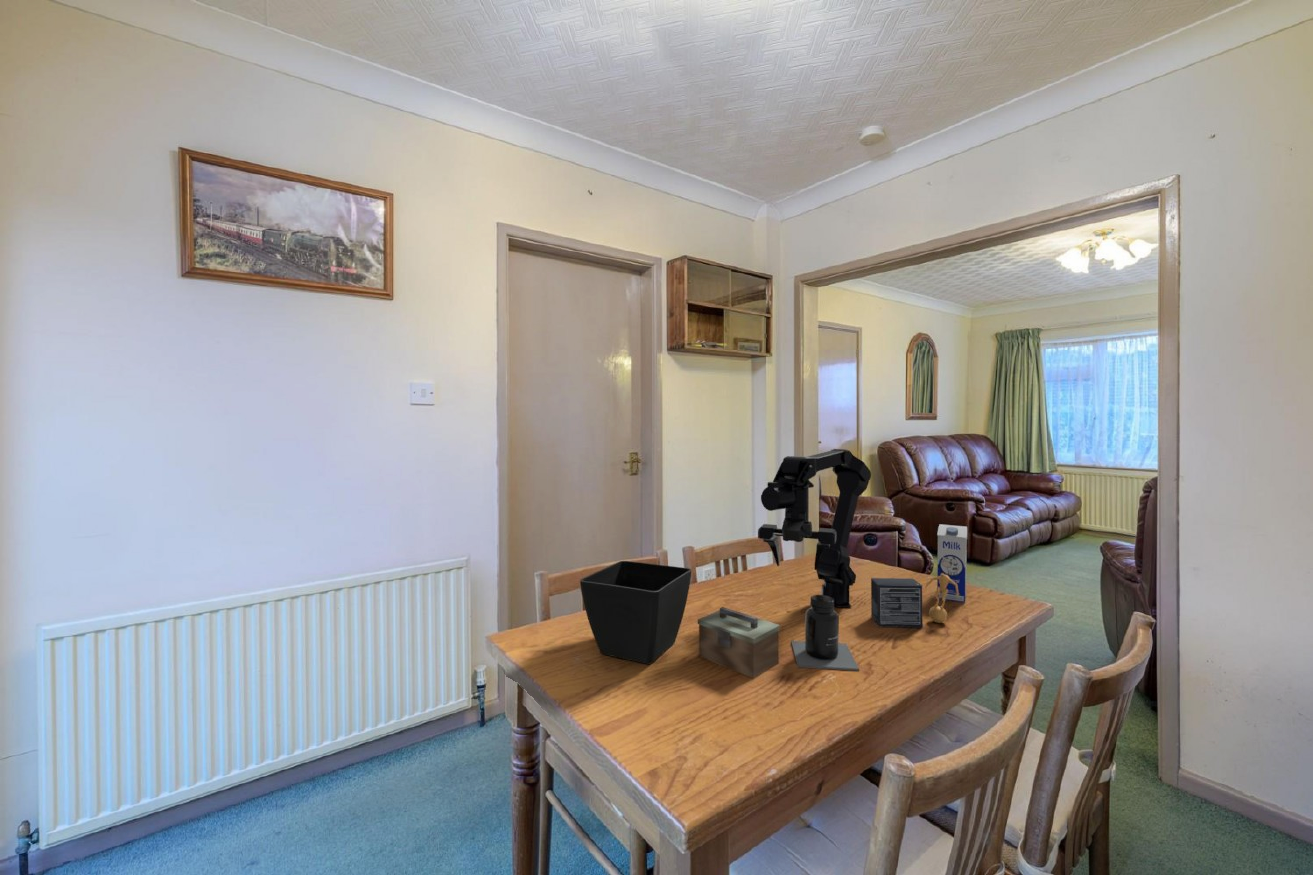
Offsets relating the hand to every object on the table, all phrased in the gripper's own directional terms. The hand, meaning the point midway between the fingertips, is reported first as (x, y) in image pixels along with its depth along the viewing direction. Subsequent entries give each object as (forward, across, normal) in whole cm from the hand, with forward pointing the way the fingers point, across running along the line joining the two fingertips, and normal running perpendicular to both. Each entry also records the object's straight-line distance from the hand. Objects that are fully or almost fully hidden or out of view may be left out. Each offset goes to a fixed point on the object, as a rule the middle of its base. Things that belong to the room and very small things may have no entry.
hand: (796, 567), depth 134 cm
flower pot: (+13, -30, -31) cm, 45 cm away
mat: (+13, +8, -20) cm, 25 cm away
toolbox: (+13, -8, -28) cm, 32 cm away
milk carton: (+13, +38, +32) cm, 51 cm away
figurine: (+13, +33, +11) cm, 38 cm away
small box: (+13, +23, +6) cm, 27 cm away
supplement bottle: (+13, +8, -19) cm, 25 cm away
